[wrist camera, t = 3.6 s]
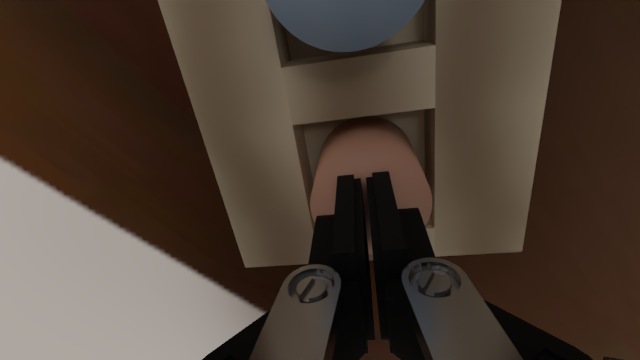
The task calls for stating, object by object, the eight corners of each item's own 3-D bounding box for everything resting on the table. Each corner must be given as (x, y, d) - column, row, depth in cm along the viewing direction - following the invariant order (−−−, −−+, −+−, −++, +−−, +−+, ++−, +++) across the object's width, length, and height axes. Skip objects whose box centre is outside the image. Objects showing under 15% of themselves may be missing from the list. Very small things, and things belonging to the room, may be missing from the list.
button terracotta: (412, 110, 13) (432, 144, 10) (414, 197, 15) (432, 250, 12) (312, 122, 14) (300, 158, 10) (326, 204, 15) (319, 257, 12)
